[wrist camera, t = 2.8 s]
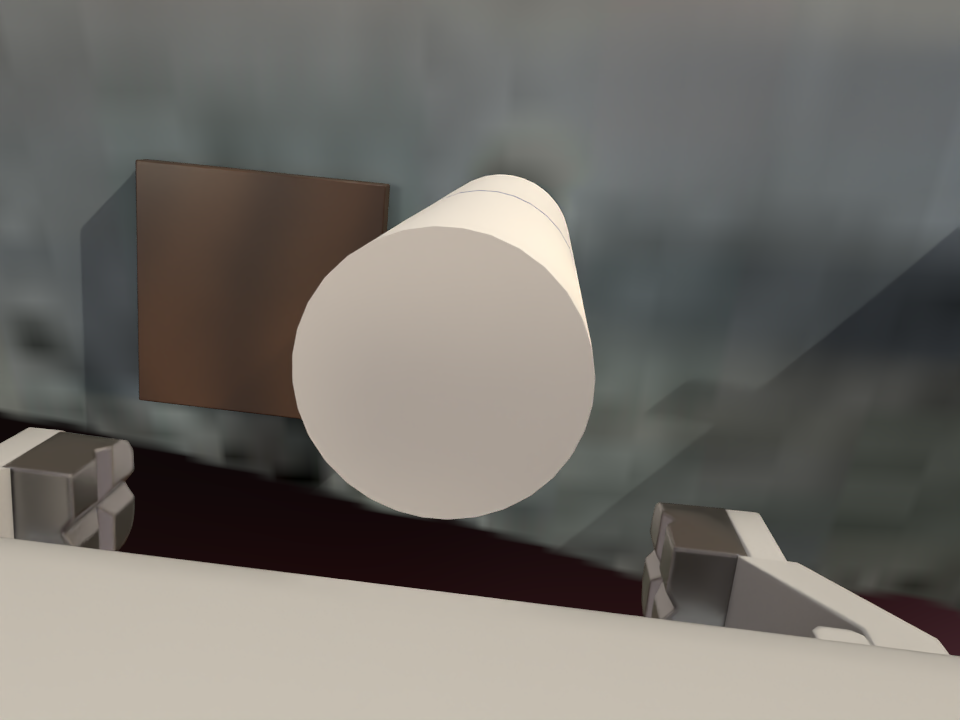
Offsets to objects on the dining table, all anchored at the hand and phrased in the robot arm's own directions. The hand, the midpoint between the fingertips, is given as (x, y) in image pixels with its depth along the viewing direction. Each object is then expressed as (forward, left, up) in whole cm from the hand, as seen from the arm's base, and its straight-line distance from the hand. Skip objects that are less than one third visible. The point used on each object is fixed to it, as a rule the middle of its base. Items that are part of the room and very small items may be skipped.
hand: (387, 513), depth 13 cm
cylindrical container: (0, 0, -32) cm, 32 cm away
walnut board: (+12, +4, -32) cm, 35 cm away
